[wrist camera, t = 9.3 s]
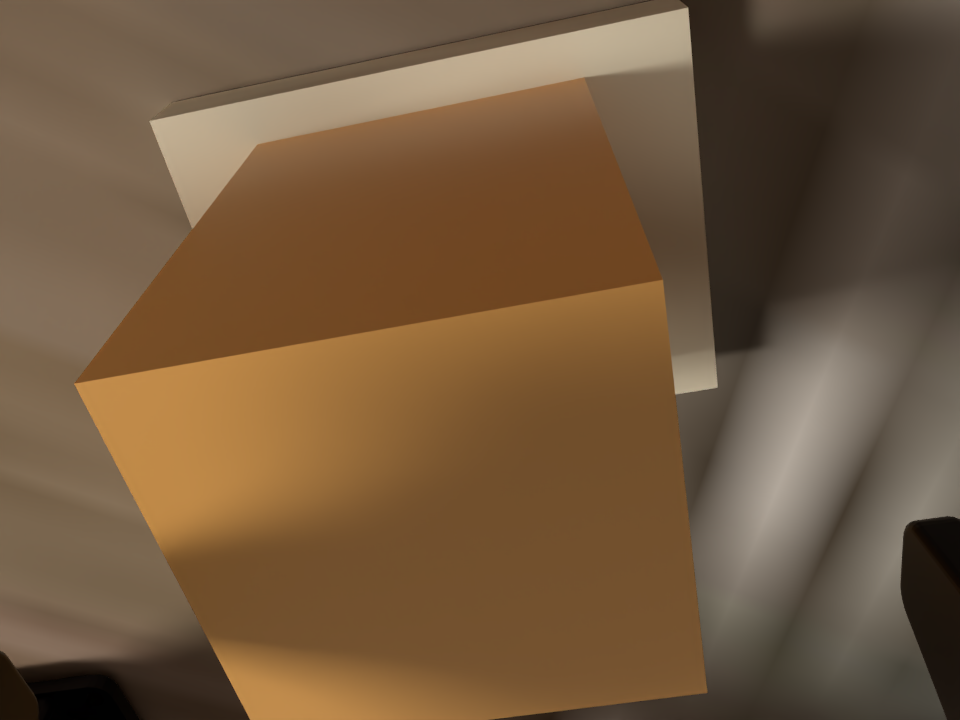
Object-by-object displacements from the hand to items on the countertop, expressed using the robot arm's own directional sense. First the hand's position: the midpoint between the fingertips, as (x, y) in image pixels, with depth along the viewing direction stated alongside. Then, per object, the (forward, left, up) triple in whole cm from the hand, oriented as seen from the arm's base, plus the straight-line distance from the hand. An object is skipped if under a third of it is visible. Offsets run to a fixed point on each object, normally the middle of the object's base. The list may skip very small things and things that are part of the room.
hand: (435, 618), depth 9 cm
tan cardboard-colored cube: (0, 0, -9) cm, 9 cm away
